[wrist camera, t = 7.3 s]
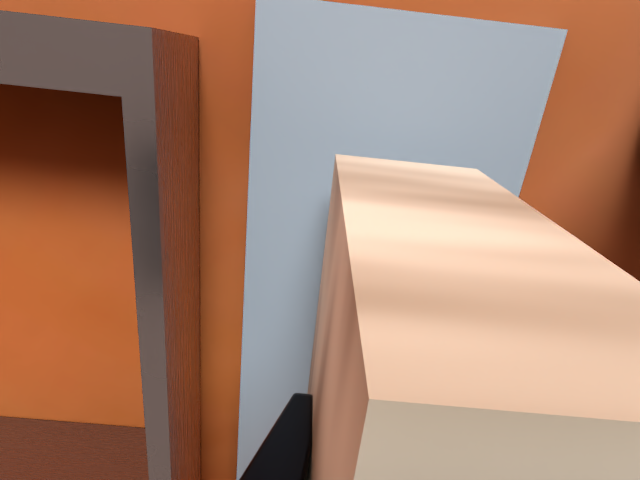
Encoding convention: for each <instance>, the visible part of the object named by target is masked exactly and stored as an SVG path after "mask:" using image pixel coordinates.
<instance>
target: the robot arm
mask: <svg viewBox="0 0 640 480" xmlns="http://www.w3.org/2000/svg"><path fill="white" fill-rule="evenodd" d="M312 416H313V395H312V394H306V393H294V394H293V395H292V396H291V398H290V400H289V401H288V403H287V404H286V406H285V408H284V409H283V411H282V412H281V414H280V416H279V417H278V419H277V420H276V422H275V424H274V425H273V427H272V428H271V430H270V432H269V433H268V435H267V436H266V438H265V439H264V441H263V443H262V444H261V446H260V447H259V449H258V451H257V452H256V454H255V455H254V457H253V459H252V460H251V462H250V463H249V465H248V467H247V468H246V470H245V471H244V473H243V475H242V476H241V478H240V479H239V480H308V475H309V467H310V459H311V452H312Z"/></svg>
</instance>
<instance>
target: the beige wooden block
mask: <svg viewBox="0 0 640 480" xmlns="http://www.w3.org/2000/svg"><path fill="white" fill-rule="evenodd" d="M307 394H312V395H313V416H312V452H311V459H310V467H309V475H308V480H640V281H638V280H637V279H635V278H634V277H632V276H631V275H630V274H628V273H627V272H625V271H624V270H622V269H621V268H619V267H618V266H617V265H615V264H614V263H612V262H611V261H609V260H608V259H606V258H605V257H604V256H602V255H601V254H599V253H598V252H596V251H595V250H593V249H592V248H591V247H589V246H588V245H586V244H585V243H583V242H582V241H580V240H579V239H578V238H576V237H575V236H573V235H572V234H570V233H569V232H567V231H566V230H565V229H563V228H562V227H560V226H559V225H557V224H556V223H554V222H553V221H551V220H550V219H549V218H547V217H546V216H544V215H543V214H541V213H540V212H538V211H537V210H536V209H534V208H533V207H531V206H530V205H528V204H527V203H525V202H524V201H523V200H521V199H520V198H518V197H517V196H515V195H514V194H512V193H511V192H510V191H508V190H507V189H505V188H504V187H502V186H501V185H499V184H498V183H497V182H495V181H494V180H492V179H491V178H489V177H488V176H486V175H485V174H484V173H482V172H481V171H479V170H478V169H473V168H464V167H454V166H445V165H435V164H426V163H416V162H407V161H397V160H388V159H378V158H368V157H359V156H349V155H340V154H335V162H334V171H333V179H332V188H331V196H330V205H329V214H328V222H327V231H326V239H325V248H324V256H323V265H322V273H321V282H320V290H319V299H318V307H317V316H316V324H315V333H314V341H313V350H312V359H311V367H310V376H309V384H308V393H307Z"/></svg>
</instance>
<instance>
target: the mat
mask: <svg viewBox="0 0 640 480" xmlns="http://www.w3.org/2000/svg"><path fill="white" fill-rule="evenodd" d="M567 31H568V30H566V29H557V28H549V27H540V26H532V25H523V24H515V23H506V22H498V21H489V20H481V19H472V18H464V17H455V16H447V15H438V14H430V13H421V12H413V11H404V10H396V9H388V8H379V7H371V6H362V5H354V4H345V3H337V2H328V1H320V0H256V10H255V34H254V59H253V84H252V108H251V133H250V158H249V183H248V207H247V232H246V257H245V282H244V306H243V331H242V356H241V381H240V405H239V430H238V455H237V479H236V480H239V479H240V478H241V476H242V475H243V473H244V471H245V470H246V468H247V467H248V465H249V463H250V462H251V460H252V459H253V457H254V455H255V454H256V452H257V451H258V449H259V447H260V446H261V444H262V443H263V441H264V439H265V438H266V436H267V435H268V433H269V432H270V430H271V428H272V427H273V425H274V424H275V422H276V420H277V419H278V417H279V416H280V414H281V412H282V411H283V409H284V408H285V406H286V404H287V403H288V401H289V400H290V398H291V396H292V395H293V394H294V393H306V394H307V393H308V384H309V376H310V367H311V359H312V350H313V341H314V333H315V324H316V316H317V307H318V299H319V290H320V282H321V273H322V265H323V256H324V248H325V239H326V231H327V222H328V214H329V205H330V196H331V188H332V179H333V171H334V162H335V154H340V155H349V156H359V157H368V158H378V159H388V160H397V161H407V162H416V163H426V164H435V165H445V166H454V167H464V168H473V169H478V170H479V171H481V172H482V173H484V174H485V175H486V176H488V177H489V178H491V179H492V180H494V181H495V182H497V183H498V184H499V185H501V186H502V187H504V188H505V189H507V190H508V191H510V192H511V193H512V194H514V195H515V196H517V197H519V194H520V191H521V187H522V184H523V180H524V177H525V174H526V170H527V167H528V163H529V160H530V157H531V153H532V150H533V146H534V143H535V140H536V136H537V133H538V129H539V126H540V123H541V119H542V116H543V112H544V109H545V106H546V102H547V99H548V96H549V92H550V89H551V85H552V82H553V79H554V75H555V72H556V68H557V65H558V62H559V58H560V55H561V51H562V48H563V45H564V41H565V38H566V34H567Z"/></svg>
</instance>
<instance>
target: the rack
mask: <svg viewBox="0 0 640 480" xmlns="http://www.w3.org/2000/svg"><path fill="white" fill-rule="evenodd" d="M0 84H8V85H18V86H27V87H36V88H45V89H55V90H64V91H73V92H82V93H92V94H101V95H110V96H119V97H122V111H123V125H124V139H125V153H126V167H127V181H128V195H129V209H130V222H131V236H132V250H133V264H134V278H135V292H136V306H137V320H138V334H139V348H140V362H141V376H142V390H143V404H144V418H145V428H137V427H124V426H112V425H99V424H87V423H75V422H62V421H50V420H38V419H25V418H13V417H0V480H201V450H200V266H199V82H198V37H195V36H190V35H185V34H180V33H175V32H170V31H165V30H161V29H156V28H150V27H142V26H133V25H124V24H115V23H107V22H98V21H89V20H80V19H72V18H63V17H54V16H45V15H36V14H28V13H19V12H10V11H1V10H0Z"/></svg>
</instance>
